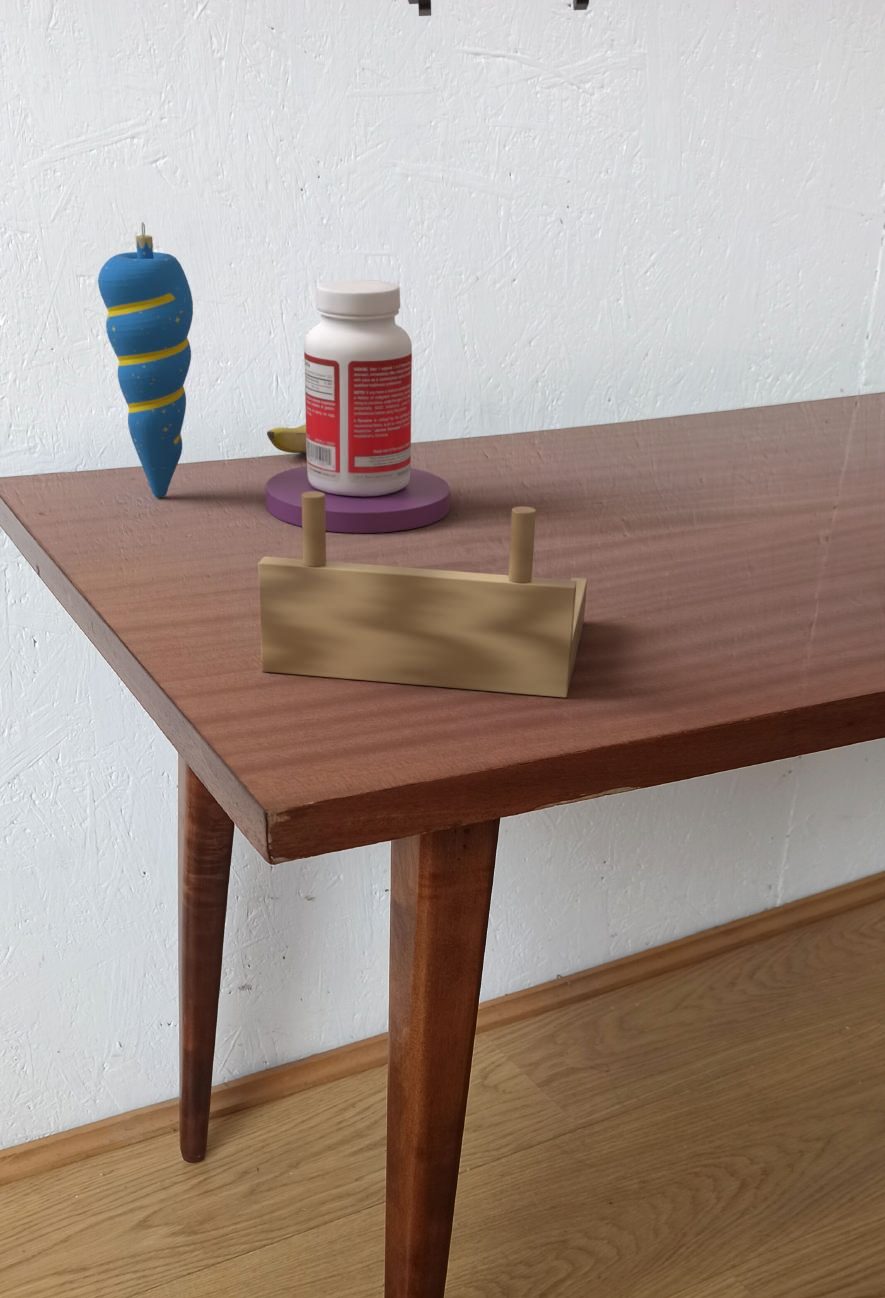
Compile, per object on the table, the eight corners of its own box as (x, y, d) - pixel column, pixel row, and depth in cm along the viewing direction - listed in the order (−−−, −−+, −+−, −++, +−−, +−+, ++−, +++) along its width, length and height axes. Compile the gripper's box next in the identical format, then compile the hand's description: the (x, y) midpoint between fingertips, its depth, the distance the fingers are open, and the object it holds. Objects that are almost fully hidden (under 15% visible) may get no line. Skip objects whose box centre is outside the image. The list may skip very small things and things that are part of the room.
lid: (461, 488, 96) (462, 468, 95) (433, 539, 86) (434, 518, 86) (290, 476, 97) (290, 456, 96) (245, 525, 88) (244, 504, 87)
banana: (326, 436, 106) (325, 375, 104) (348, 439, 105) (347, 379, 103) (262, 462, 100) (260, 398, 97) (285, 466, 99) (283, 401, 97)
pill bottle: (422, 477, 93) (426, 281, 87) (393, 503, 88) (395, 297, 82) (326, 467, 94) (323, 273, 88) (291, 493, 89) (286, 289, 83)
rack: (583, 621, 76) (597, 457, 71) (566, 698, 67) (580, 516, 63) (312, 599, 77) (309, 437, 73) (261, 671, 69) (255, 493, 65)
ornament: (110, 507, 90) (86, 227, 82) (123, 484, 94) (101, 216, 86) (198, 509, 90) (183, 230, 82) (207, 485, 94) (193, 218, 86)
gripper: (352, -387, 74) (370, 0, 80) (645, -400, 74) (642, -12, 80) (358, -320, 81) (375, 31, 87) (626, -332, 81) (625, 20, 87)
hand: (503, 10), depth 83 cm, fingers open, 8 cm apart
